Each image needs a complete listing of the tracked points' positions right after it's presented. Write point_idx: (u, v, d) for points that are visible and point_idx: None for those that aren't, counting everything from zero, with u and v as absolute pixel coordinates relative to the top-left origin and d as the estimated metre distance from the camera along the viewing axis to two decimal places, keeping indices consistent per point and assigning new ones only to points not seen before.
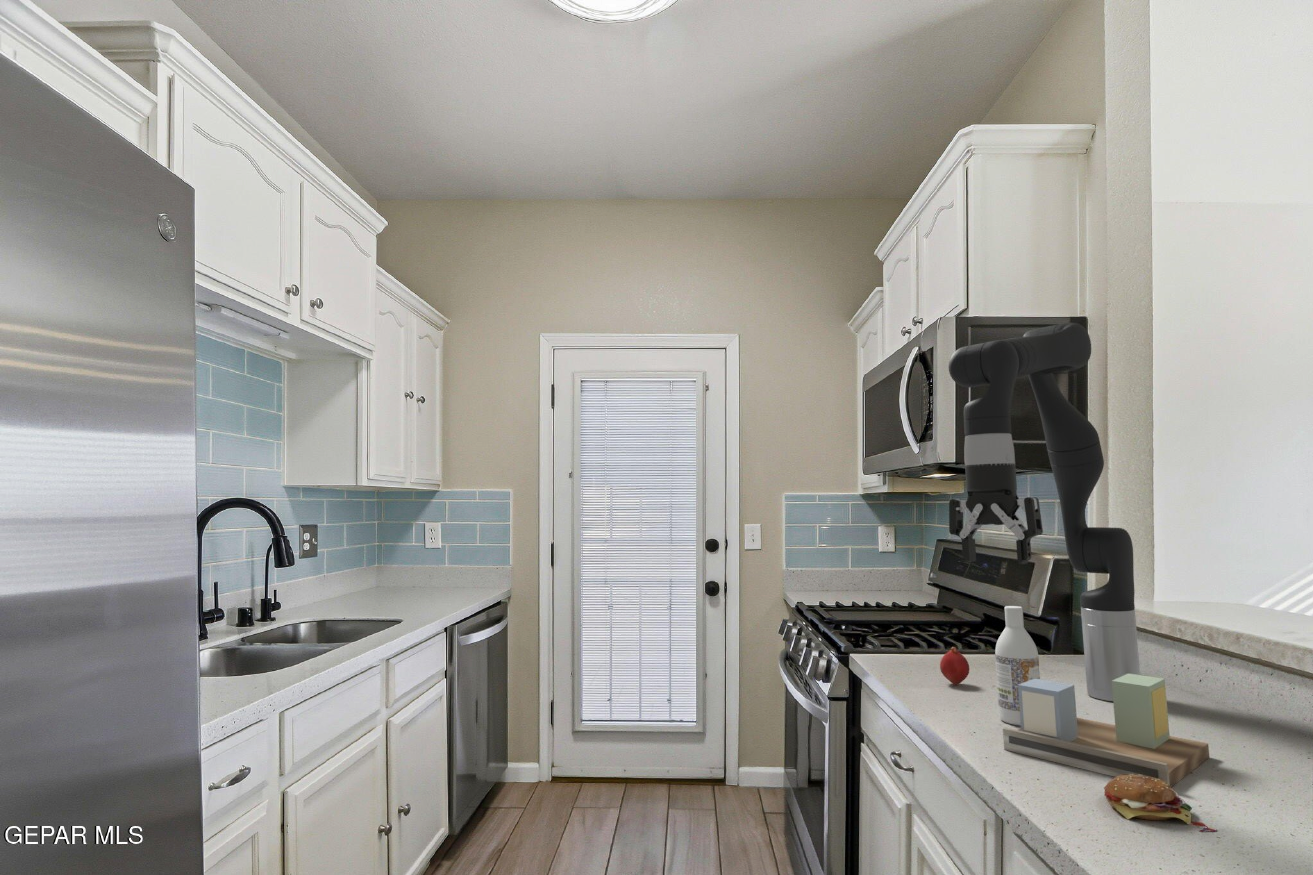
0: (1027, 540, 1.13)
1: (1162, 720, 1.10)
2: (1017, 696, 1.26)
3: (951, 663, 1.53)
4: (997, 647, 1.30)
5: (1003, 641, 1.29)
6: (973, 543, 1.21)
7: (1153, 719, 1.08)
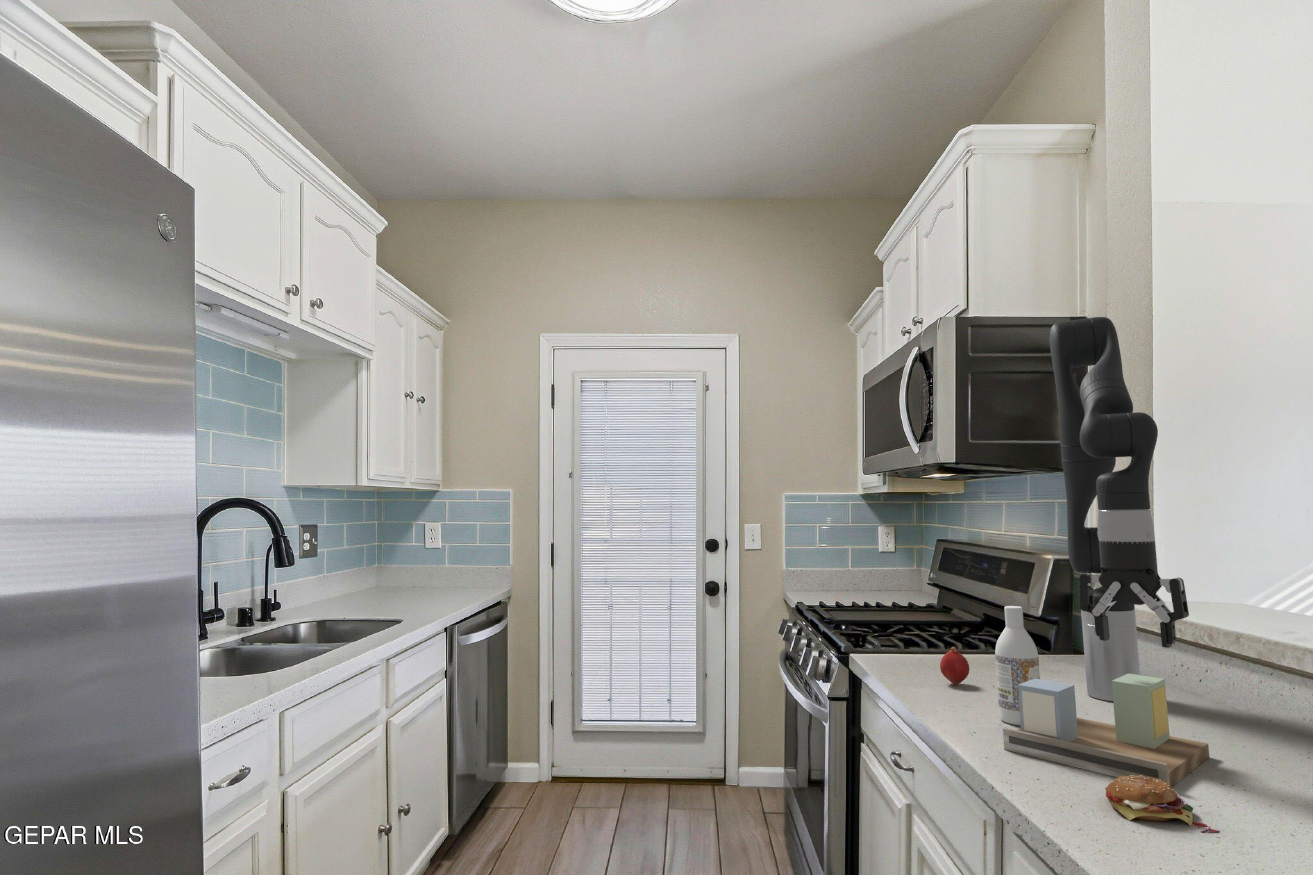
0: (1172, 623, 1.09)
1: (1162, 720, 1.10)
2: (1017, 696, 1.26)
3: (951, 663, 1.53)
4: (997, 647, 1.30)
5: (1003, 641, 1.29)
6: (1106, 620, 1.16)
7: (1153, 719, 1.08)
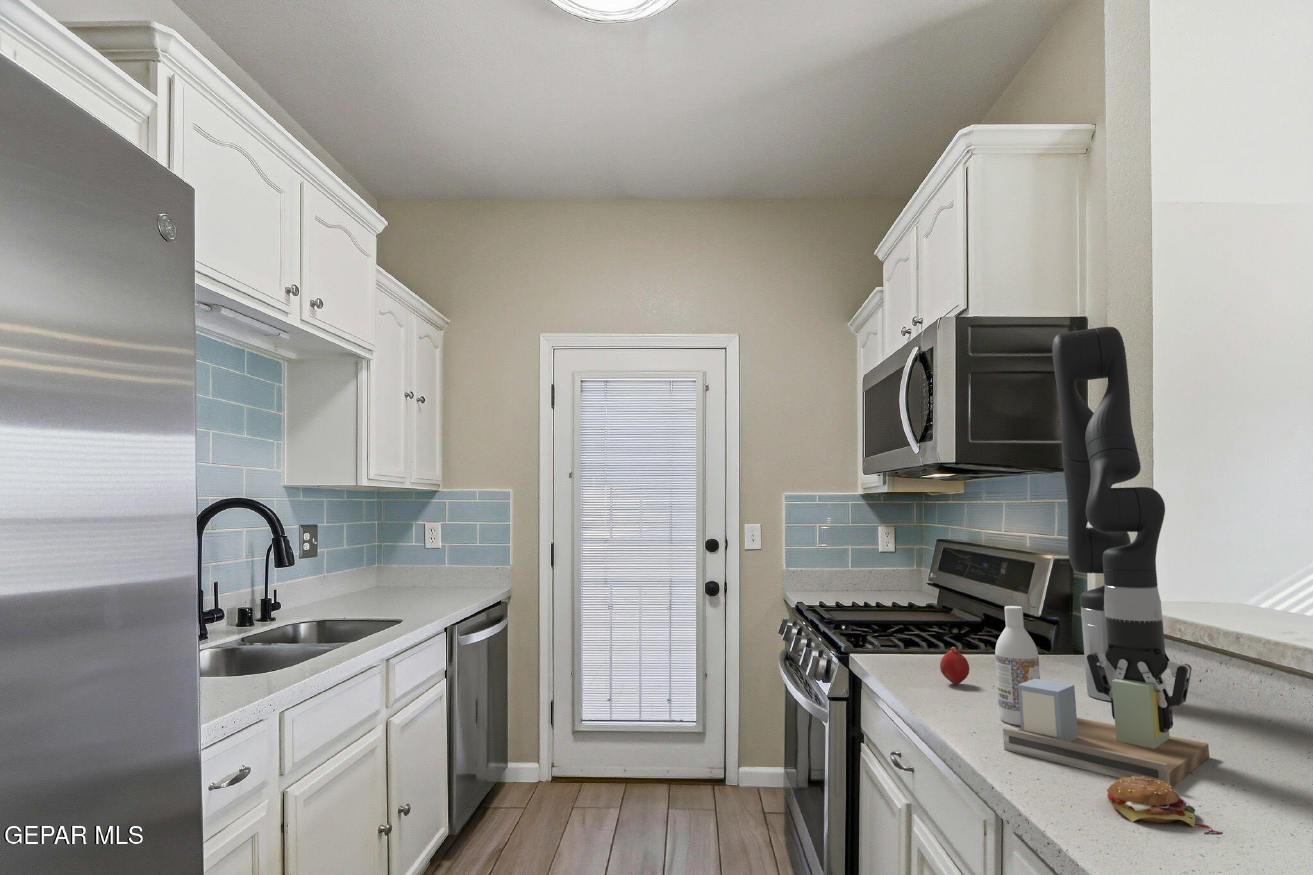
0: (1169, 708, 1.09)
1: None
2: (1017, 696, 1.26)
3: (951, 663, 1.53)
4: (997, 647, 1.30)
5: (1003, 641, 1.29)
6: None
7: (1153, 719, 1.08)
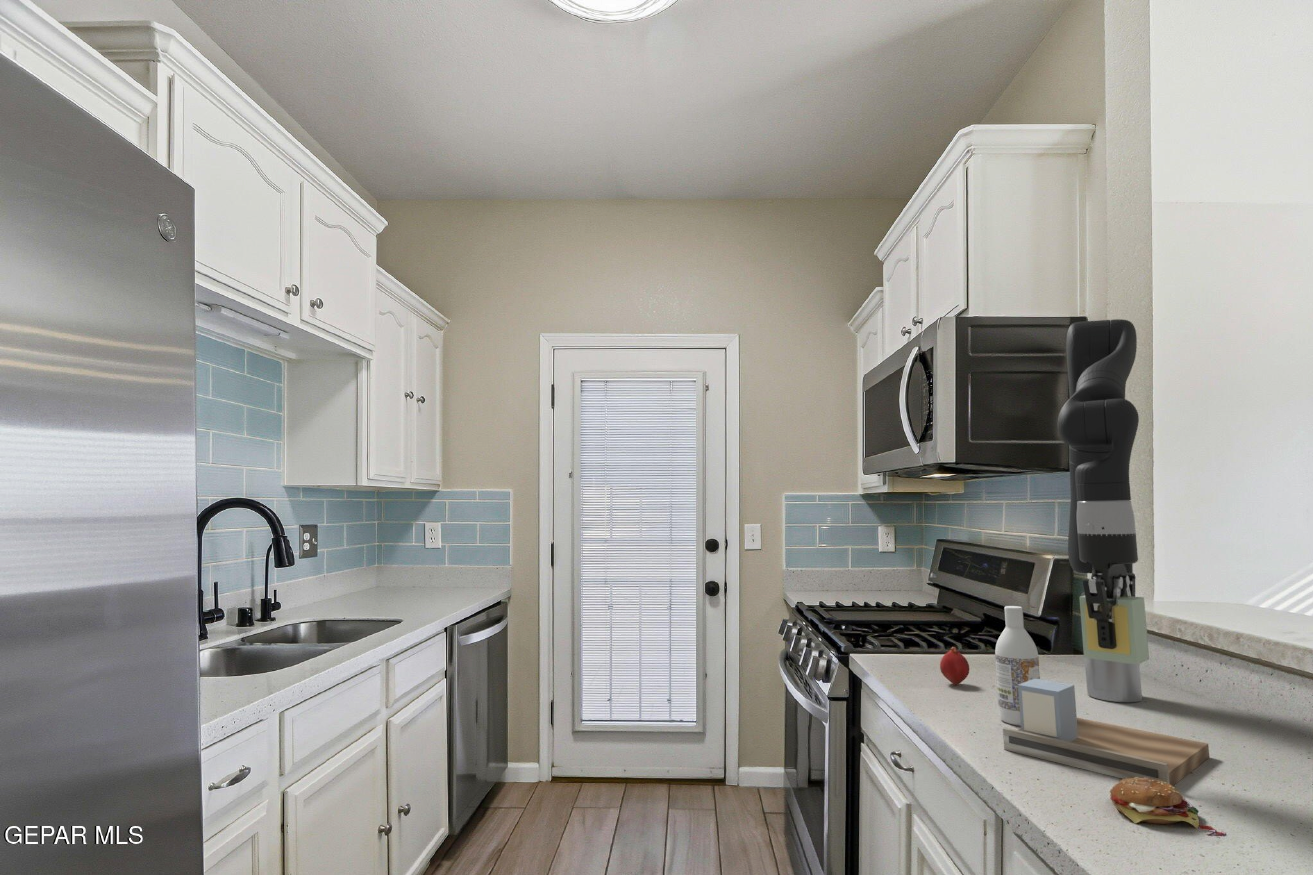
0: (1100, 623, 1.06)
1: None
2: (1017, 696, 1.26)
3: (951, 663, 1.53)
4: (997, 647, 1.30)
5: (1003, 641, 1.29)
6: None
7: (1085, 630, 1.09)
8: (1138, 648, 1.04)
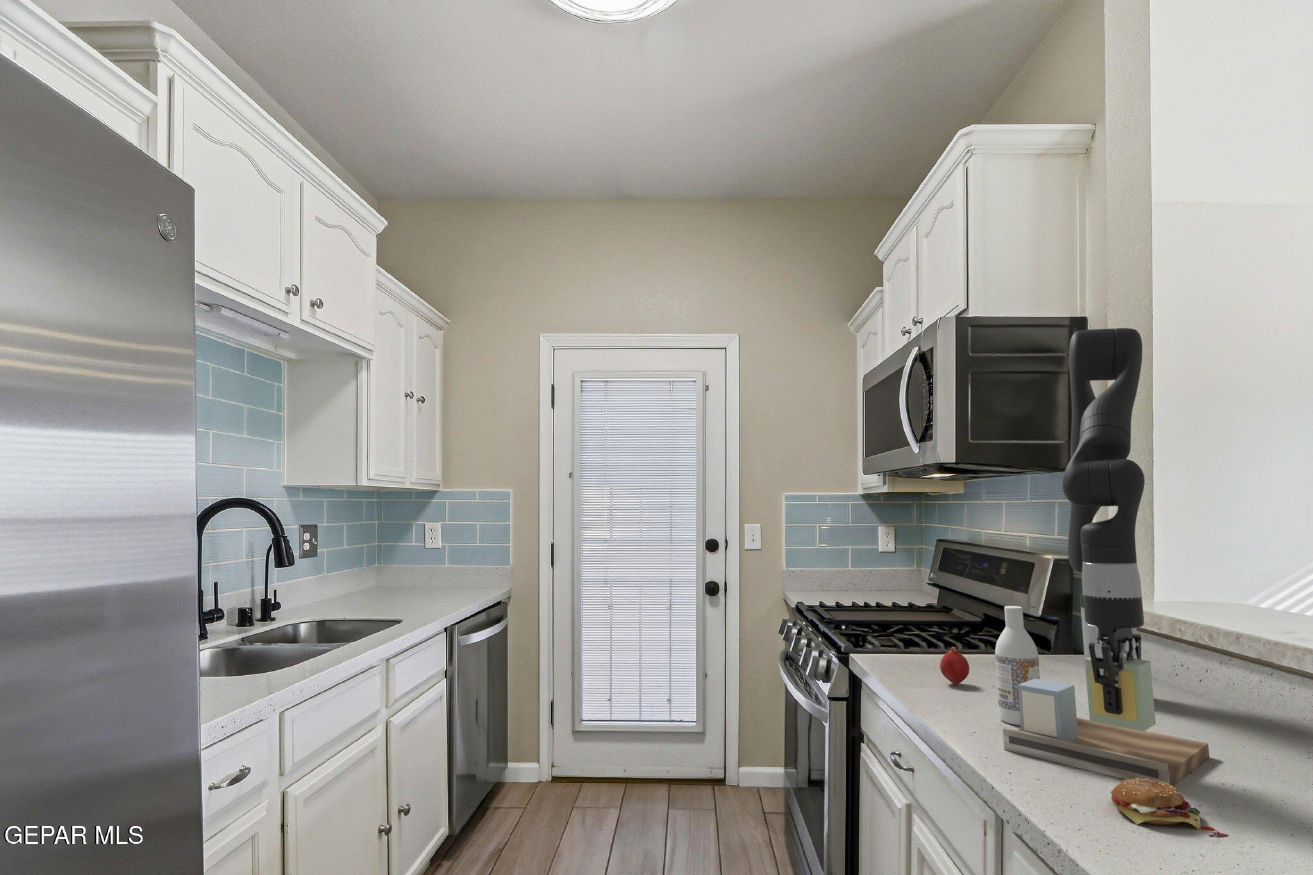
0: (1106, 688, 1.05)
1: None
2: (1017, 696, 1.26)
3: (951, 663, 1.53)
4: (997, 647, 1.30)
5: (1003, 641, 1.29)
6: None
7: (1091, 693, 1.08)
8: (1145, 714, 1.03)
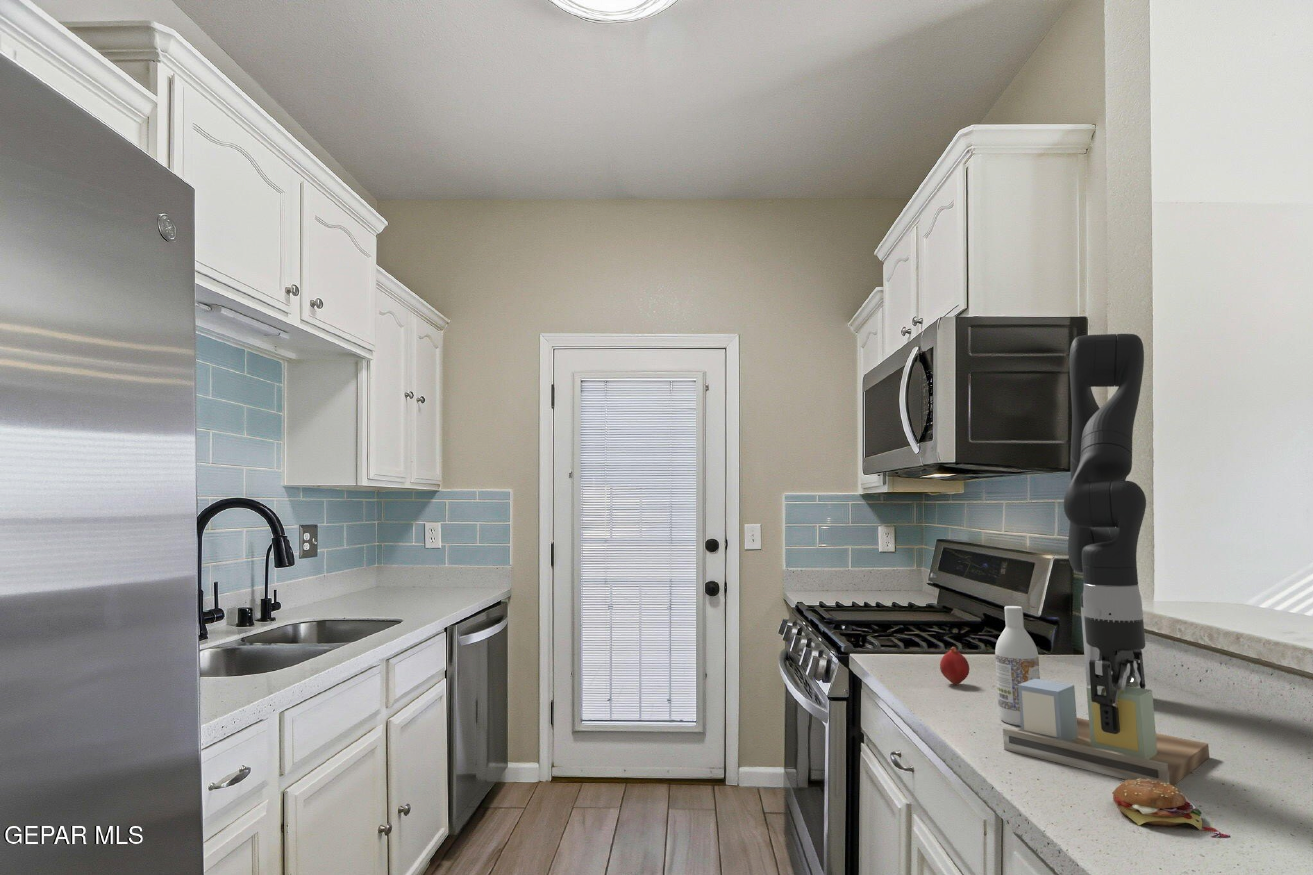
0: (1103, 707, 1.04)
1: (1120, 733, 1.05)
2: (1017, 696, 1.26)
3: (951, 663, 1.53)
4: (997, 647, 1.30)
5: (1003, 641, 1.29)
6: None
7: (1093, 721, 1.08)
8: (1147, 744, 1.03)
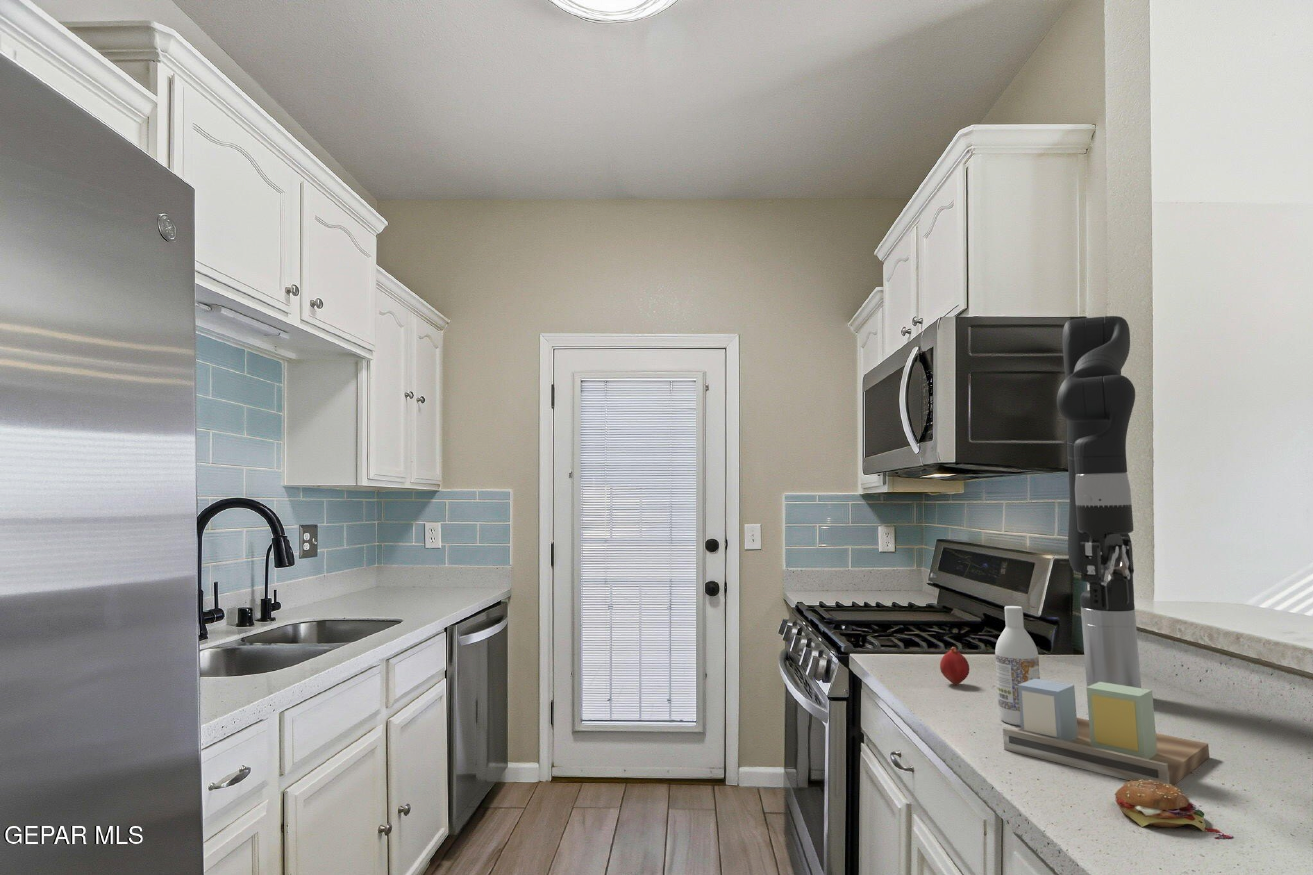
0: (1092, 586, 1.10)
1: (1120, 733, 1.05)
2: (1017, 696, 1.26)
3: (951, 663, 1.53)
4: (997, 647, 1.30)
5: (1003, 641, 1.29)
6: (1121, 584, 1.15)
7: (1093, 721, 1.08)
8: (1147, 744, 1.03)
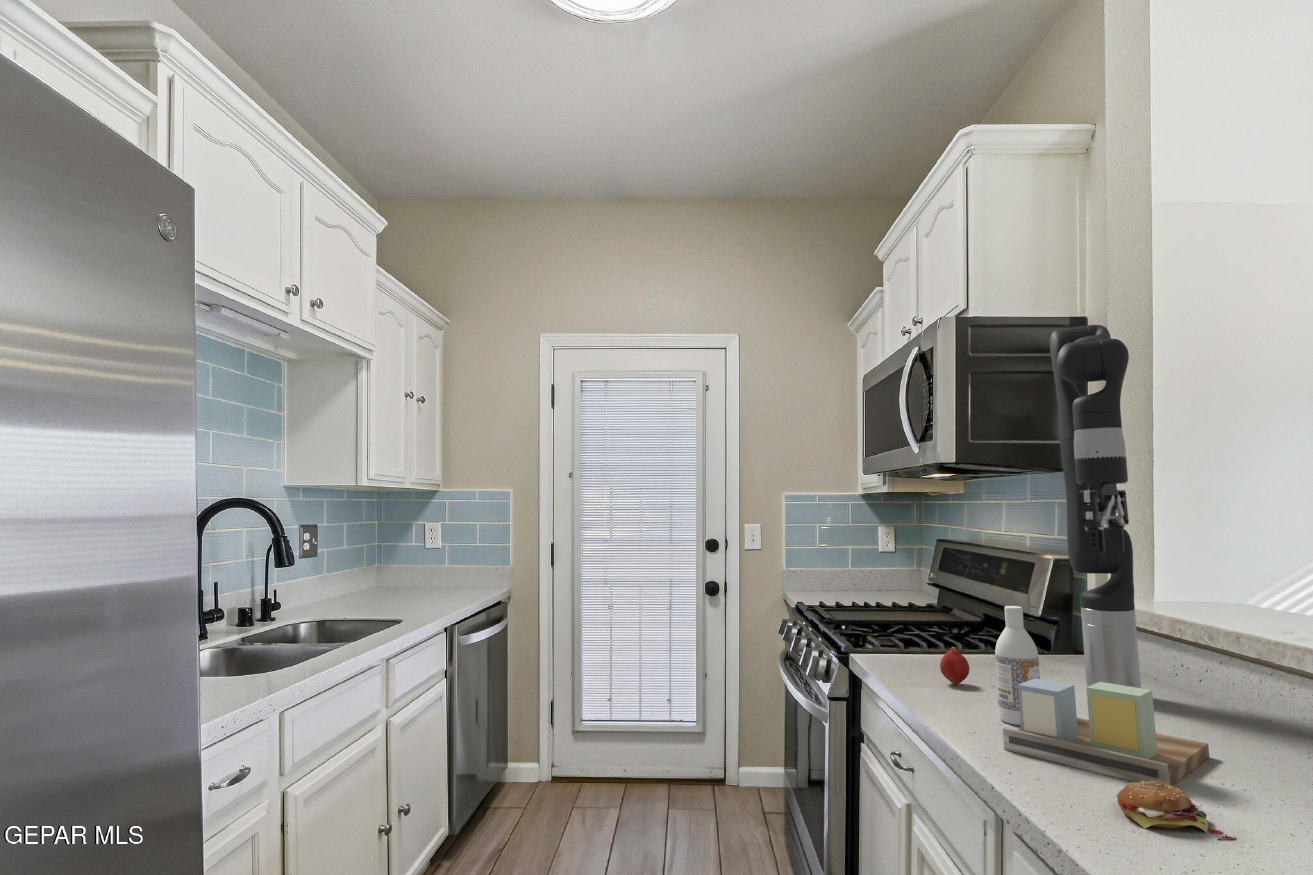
0: (1090, 531, 1.19)
1: (1120, 733, 1.05)
2: (1017, 696, 1.26)
3: (951, 663, 1.53)
4: (997, 647, 1.30)
5: (1003, 641, 1.29)
6: (1117, 533, 1.24)
7: (1093, 721, 1.08)
8: (1147, 744, 1.03)
